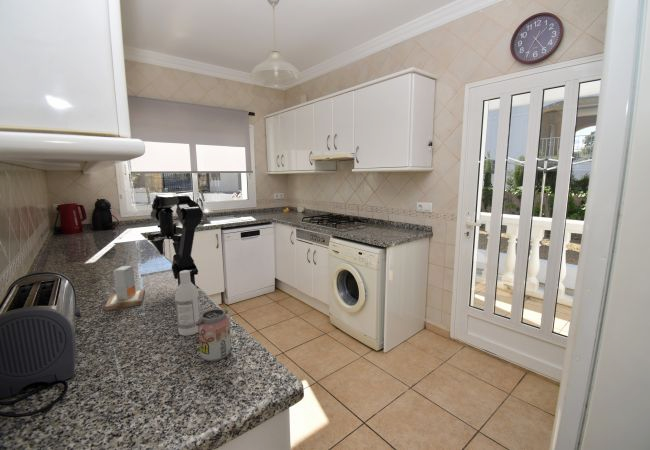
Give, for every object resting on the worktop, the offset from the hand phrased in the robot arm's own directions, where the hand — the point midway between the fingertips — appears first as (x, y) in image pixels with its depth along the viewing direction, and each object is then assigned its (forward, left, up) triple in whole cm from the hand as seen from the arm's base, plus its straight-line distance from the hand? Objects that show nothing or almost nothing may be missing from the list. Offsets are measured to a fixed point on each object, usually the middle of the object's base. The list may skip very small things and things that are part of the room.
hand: (169, 255), depth 141 cm
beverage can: (-58, +43, -13) cm, 73 cm away
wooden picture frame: (+1, +23, -13) cm, 26 cm away
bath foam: (-42, +35, -13) cm, 56 cm away
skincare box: (+1, +22, -12) cm, 25 cm away
